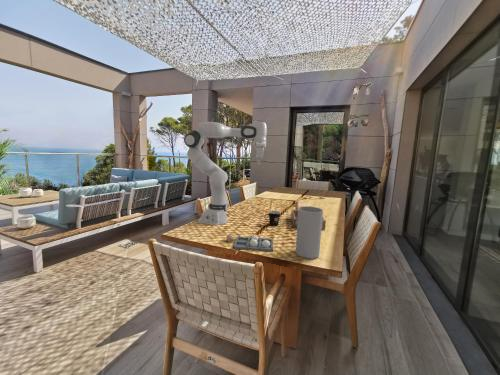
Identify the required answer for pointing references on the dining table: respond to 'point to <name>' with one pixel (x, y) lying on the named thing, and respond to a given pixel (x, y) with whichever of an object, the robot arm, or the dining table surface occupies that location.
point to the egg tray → (245, 244)
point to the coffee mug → (273, 218)
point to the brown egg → (230, 238)
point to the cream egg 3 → (266, 244)
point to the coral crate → (295, 219)
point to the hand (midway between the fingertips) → (258, 164)
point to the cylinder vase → (309, 231)
